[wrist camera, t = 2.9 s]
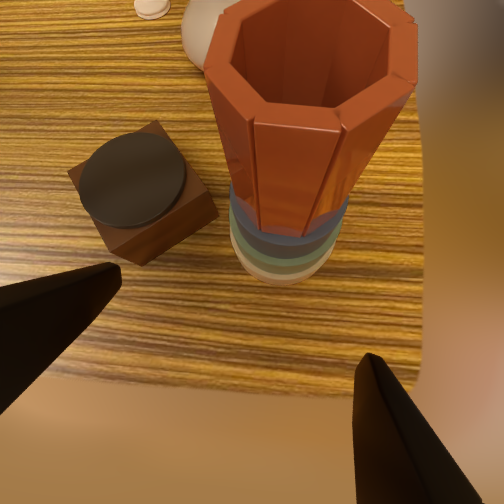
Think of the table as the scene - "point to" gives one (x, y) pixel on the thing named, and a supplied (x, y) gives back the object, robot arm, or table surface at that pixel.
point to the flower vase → (200, 27)
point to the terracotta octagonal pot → (306, 100)
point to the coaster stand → (142, 194)
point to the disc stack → (281, 247)
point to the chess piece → (151, 8)
